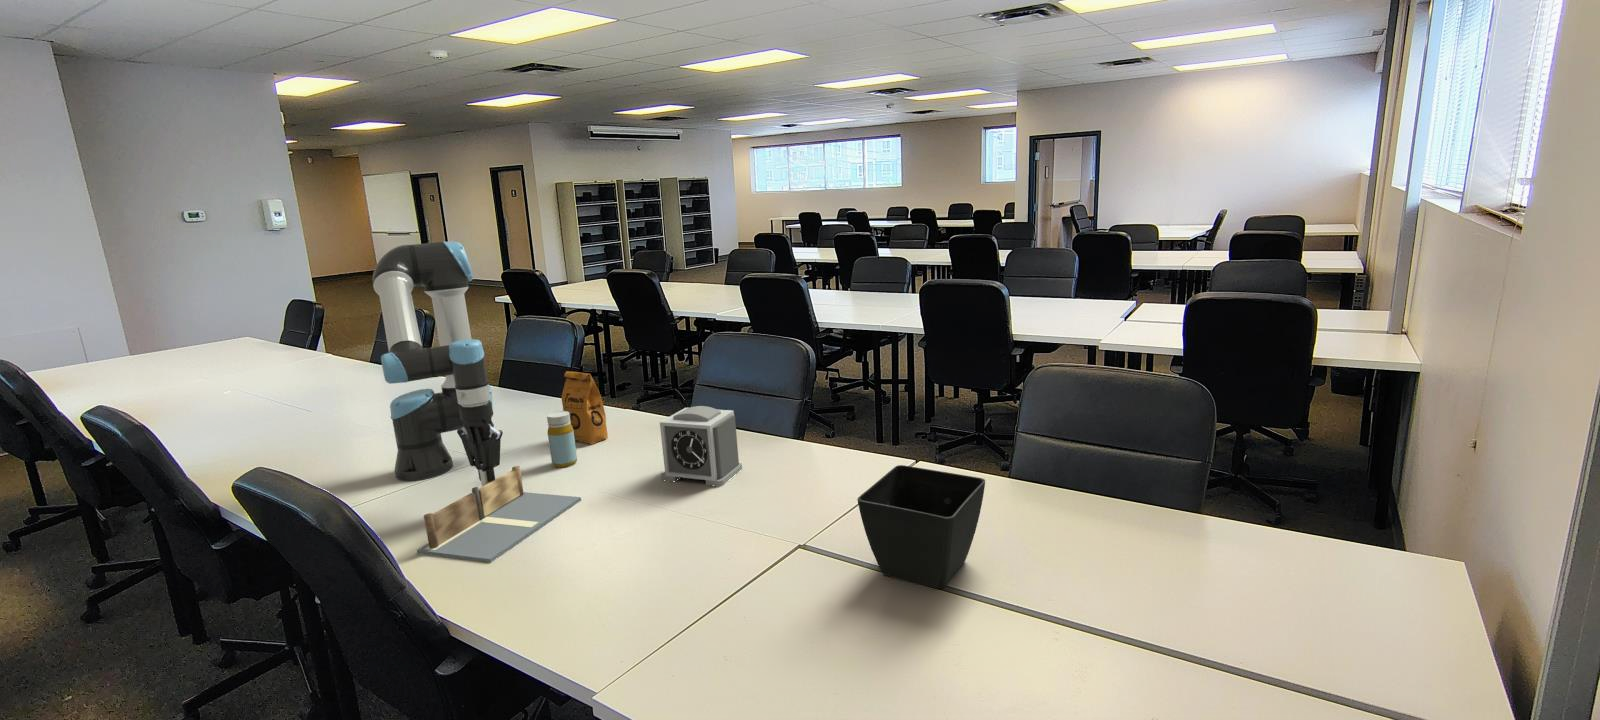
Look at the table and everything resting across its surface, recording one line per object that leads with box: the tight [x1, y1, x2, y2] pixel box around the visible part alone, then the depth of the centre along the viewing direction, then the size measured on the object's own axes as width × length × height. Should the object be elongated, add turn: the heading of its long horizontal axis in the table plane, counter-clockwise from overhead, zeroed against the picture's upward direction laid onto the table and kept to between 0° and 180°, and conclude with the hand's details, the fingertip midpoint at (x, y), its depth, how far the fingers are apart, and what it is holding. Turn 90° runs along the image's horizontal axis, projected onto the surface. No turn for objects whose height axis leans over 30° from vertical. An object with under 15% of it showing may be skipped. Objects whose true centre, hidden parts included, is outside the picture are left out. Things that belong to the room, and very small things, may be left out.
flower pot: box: [857, 464, 986, 590], centre depth 145 cm, size 19×19×17 cm
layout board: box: [416, 491, 582, 564], centre depth 179 cm, size 33×20×1 cm, turn 161°
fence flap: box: [478, 465, 524, 517], centre depth 187 cm, size 14×2×7 cm, turn 161°
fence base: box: [423, 486, 483, 549], centre depth 173 cm, size 16×2×8 cm, turn 161°
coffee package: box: [560, 370, 609, 445], centre depth 236 cm, size 10×12×22 cm
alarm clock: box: [659, 405, 743, 487], centre depth 201 cm, size 18×13×18 cm
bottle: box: [546, 410, 578, 468], centre depth 216 cm, size 7×7×15 cm
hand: (489, 492), depth 190 cm, fingers closed
